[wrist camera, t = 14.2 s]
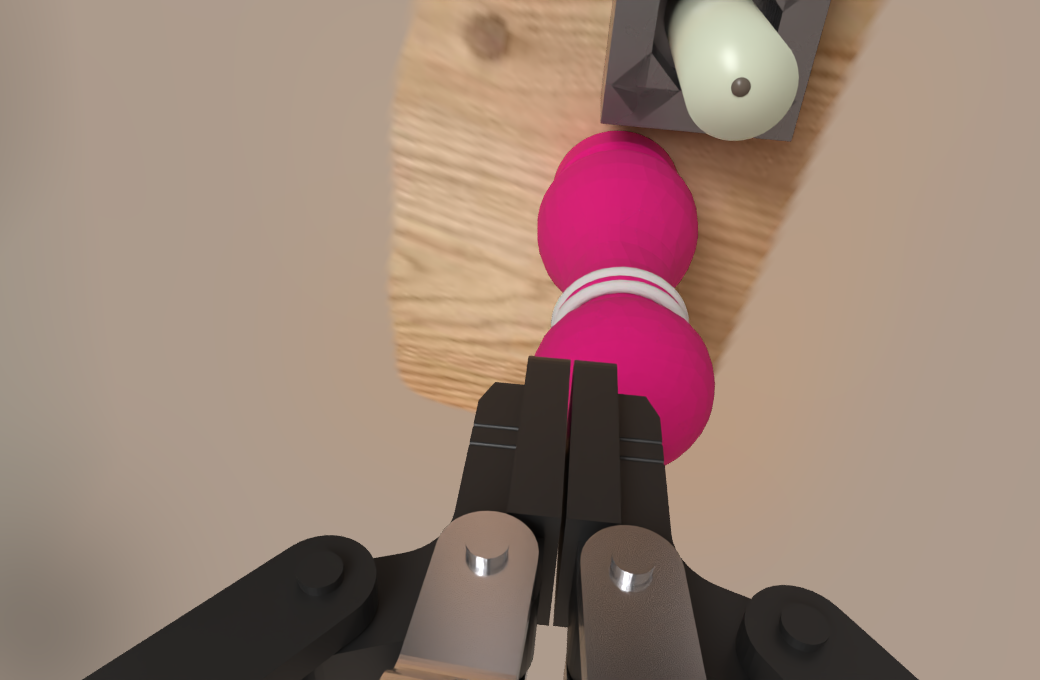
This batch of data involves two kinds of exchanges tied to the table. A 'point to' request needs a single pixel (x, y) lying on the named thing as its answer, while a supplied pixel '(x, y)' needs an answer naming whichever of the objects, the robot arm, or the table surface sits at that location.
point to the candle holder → (652, 74)
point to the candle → (730, 66)
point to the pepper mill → (627, 277)
